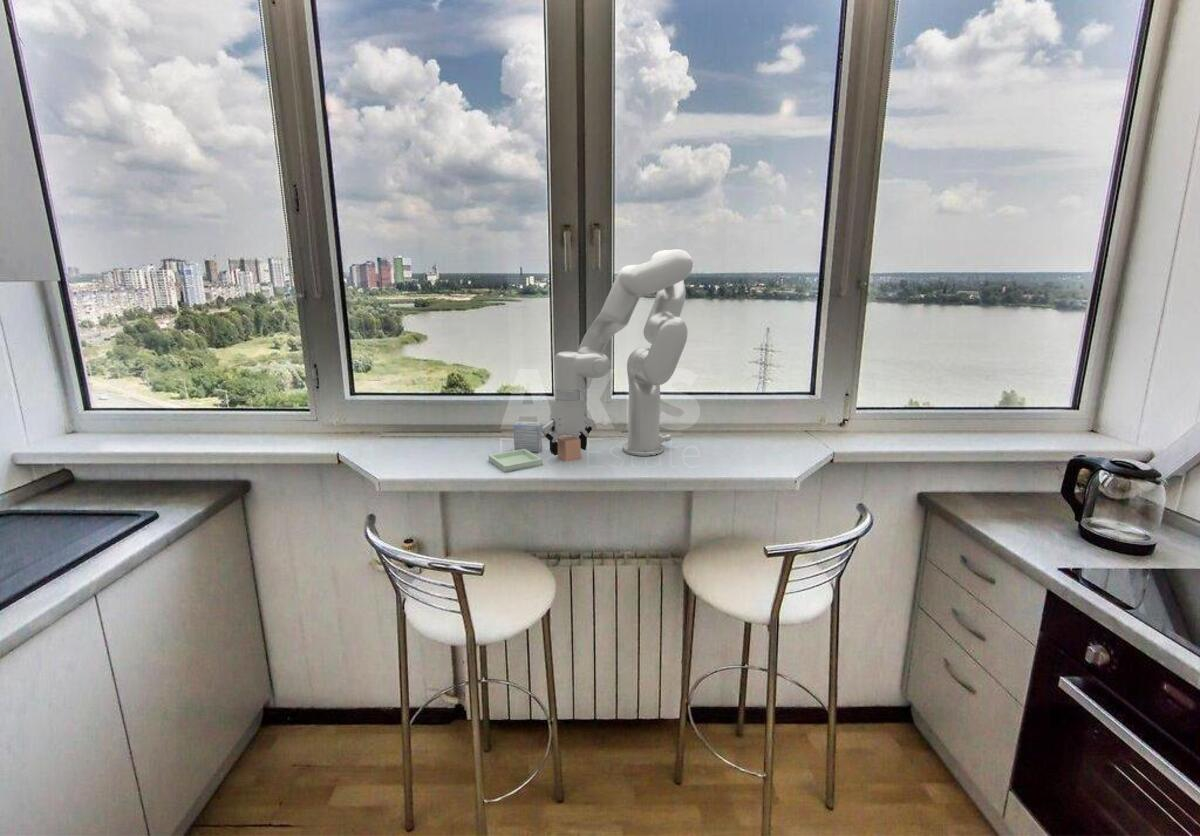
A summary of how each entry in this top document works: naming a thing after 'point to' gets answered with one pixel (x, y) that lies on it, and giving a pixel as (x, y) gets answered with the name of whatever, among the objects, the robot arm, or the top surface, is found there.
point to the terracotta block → (569, 448)
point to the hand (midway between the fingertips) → (568, 451)
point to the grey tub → (573, 434)
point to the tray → (515, 460)
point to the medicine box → (528, 436)
